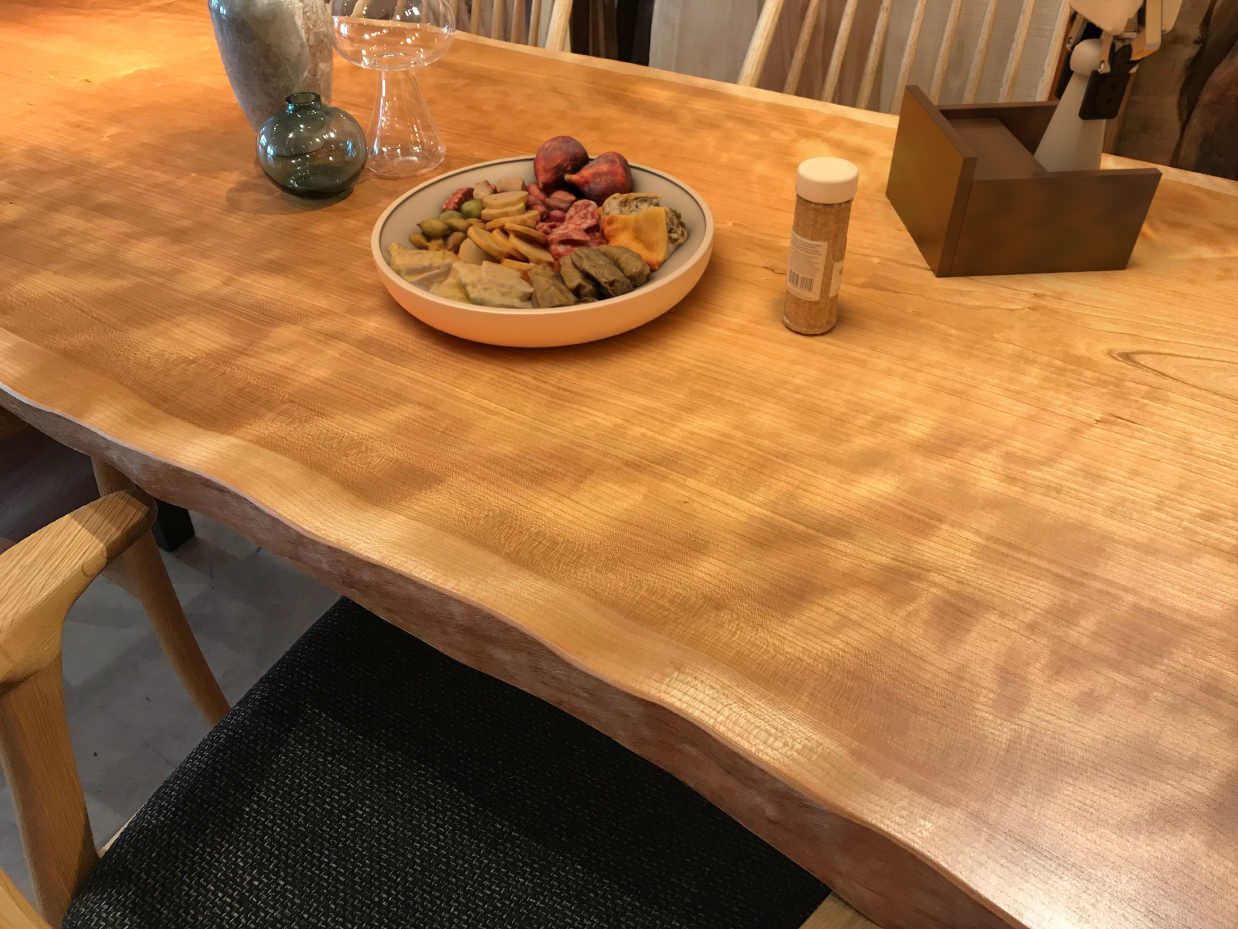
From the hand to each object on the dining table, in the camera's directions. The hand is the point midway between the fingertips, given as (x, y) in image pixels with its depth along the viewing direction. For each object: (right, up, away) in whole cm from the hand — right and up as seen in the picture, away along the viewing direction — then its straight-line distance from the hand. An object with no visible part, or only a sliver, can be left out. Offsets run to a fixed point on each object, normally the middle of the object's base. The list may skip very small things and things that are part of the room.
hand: (1084, 105), depth 80 cm
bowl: (-48, -14, +3) cm, 50 cm away
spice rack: (-4, -9, +8) cm, 12 cm away
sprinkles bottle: (-25, -20, -4) cm, 32 cm away
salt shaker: (0, -6, +5) cm, 8 cm away
